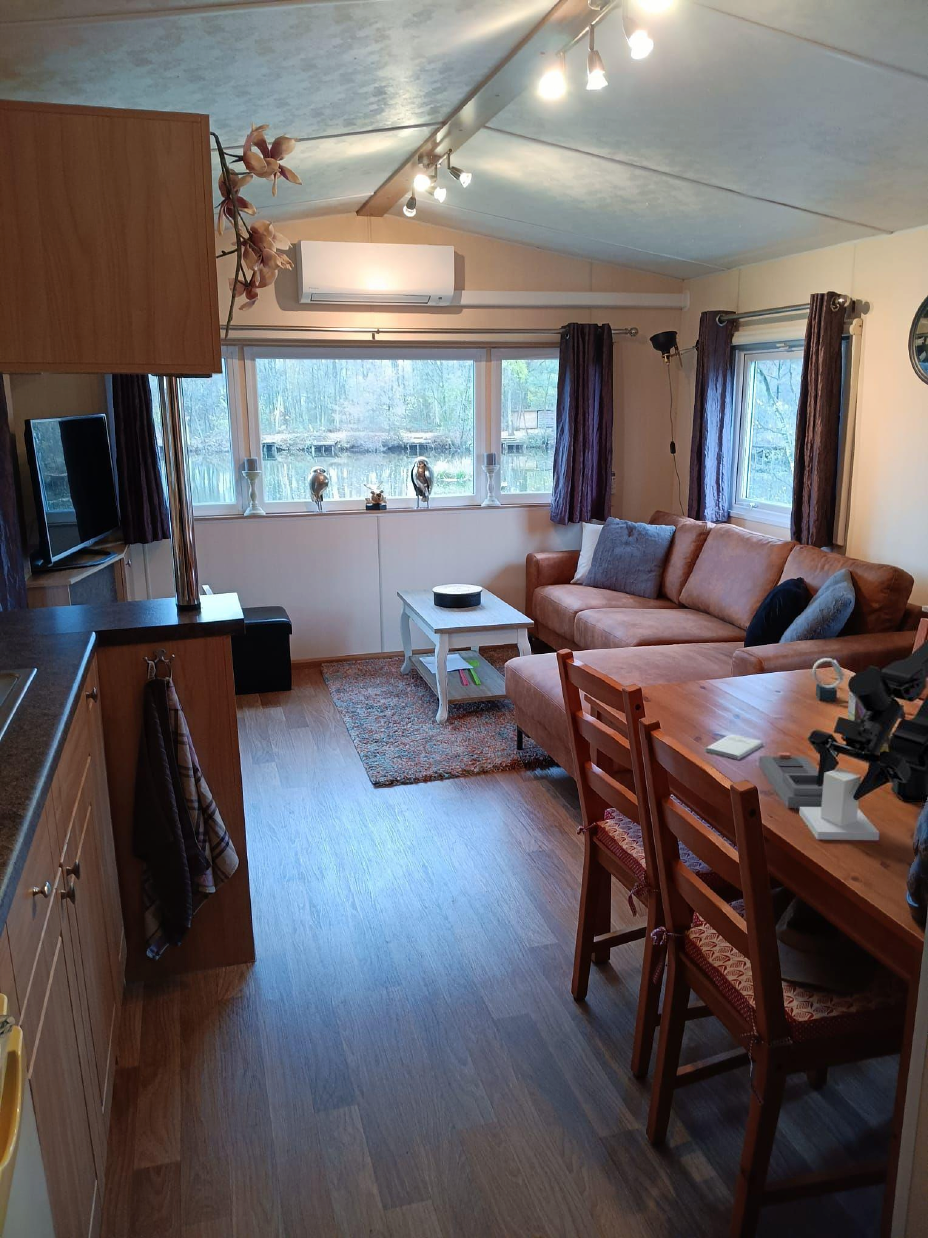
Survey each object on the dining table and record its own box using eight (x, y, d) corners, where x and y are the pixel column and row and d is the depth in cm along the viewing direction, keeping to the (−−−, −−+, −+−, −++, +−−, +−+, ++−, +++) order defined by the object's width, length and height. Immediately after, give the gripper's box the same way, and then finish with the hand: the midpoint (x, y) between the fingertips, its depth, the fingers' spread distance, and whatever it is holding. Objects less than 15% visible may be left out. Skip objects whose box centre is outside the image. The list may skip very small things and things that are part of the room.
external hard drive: (705, 753, 214) (730, 739, 223) (738, 762, 209) (762, 747, 218) (705, 747, 214) (730, 733, 223) (738, 755, 209) (763, 740, 217)
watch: (843, 701, 249) (847, 662, 247) (812, 700, 251) (815, 661, 248) (839, 695, 255) (842, 656, 252) (808, 694, 256) (811, 655, 254)
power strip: (805, 767, 204) (806, 750, 203) (839, 809, 183) (840, 790, 182) (758, 766, 205) (759, 749, 204) (787, 808, 183) (789, 789, 182)
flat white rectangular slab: (856, 814, 180) (857, 807, 180) (878, 840, 169) (879, 832, 169) (799, 814, 181) (799, 806, 180) (817, 839, 170) (817, 831, 170)
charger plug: (836, 812, 178) (840, 768, 176) (856, 821, 174) (860, 776, 172) (820, 817, 175) (824, 772, 173) (840, 826, 172) (844, 781, 170)
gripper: (816, 689, 179) (776, 755, 176) (908, 714, 164) (865, 787, 161) (838, 720, 185) (799, 784, 182) (928, 747, 170) (888, 818, 167)
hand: (836, 792), depth 173 cm, fingers open, 7 cm apart
